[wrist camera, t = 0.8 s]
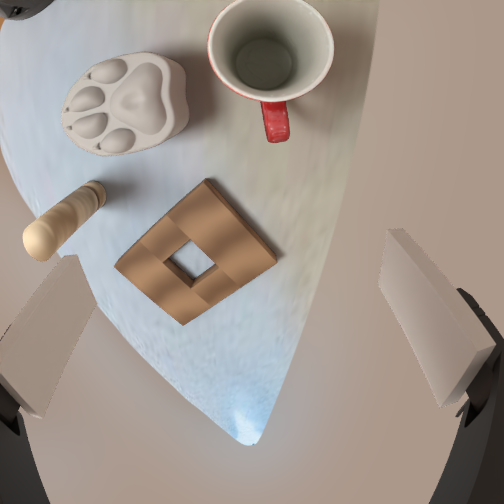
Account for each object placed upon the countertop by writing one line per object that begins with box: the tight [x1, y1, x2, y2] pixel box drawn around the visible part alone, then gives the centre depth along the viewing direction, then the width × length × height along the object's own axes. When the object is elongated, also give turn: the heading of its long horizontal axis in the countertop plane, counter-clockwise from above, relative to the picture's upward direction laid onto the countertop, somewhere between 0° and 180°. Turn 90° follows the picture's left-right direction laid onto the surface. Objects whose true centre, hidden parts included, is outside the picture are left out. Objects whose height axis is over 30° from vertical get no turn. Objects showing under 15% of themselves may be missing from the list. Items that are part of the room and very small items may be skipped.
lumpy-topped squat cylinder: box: [61, 52, 190, 156], centre depth 27 cm, size 10×13×9 cm
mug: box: [207, 0, 335, 143], centre depth 24 cm, size 13×9×14 cm
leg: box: [23, 181, 106, 261], centre depth 30 cm, size 4×4×14 cm
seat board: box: [114, 178, 277, 326], centre depth 40 cm, size 14×18×2 cm
